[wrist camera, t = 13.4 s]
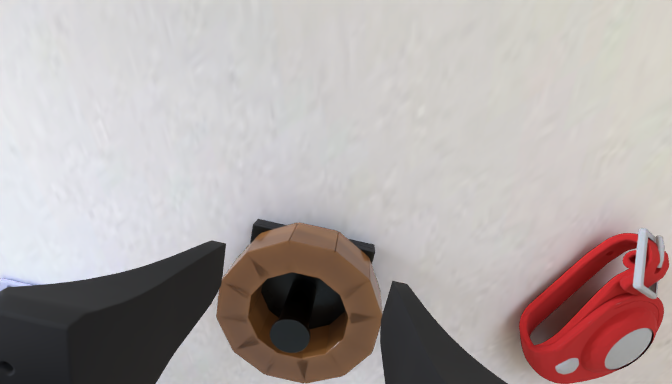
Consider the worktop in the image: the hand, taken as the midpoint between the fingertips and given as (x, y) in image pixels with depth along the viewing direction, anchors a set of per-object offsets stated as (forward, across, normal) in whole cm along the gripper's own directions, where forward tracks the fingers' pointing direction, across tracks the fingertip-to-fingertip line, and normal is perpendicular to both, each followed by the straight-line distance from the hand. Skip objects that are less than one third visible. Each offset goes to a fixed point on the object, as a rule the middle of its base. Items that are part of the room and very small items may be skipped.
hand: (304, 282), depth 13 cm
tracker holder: (+11, -21, +3) cm, 24 cm away
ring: (+9, 0, +7) cm, 12 cm away
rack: (+10, 0, +7) cm, 13 cm away
